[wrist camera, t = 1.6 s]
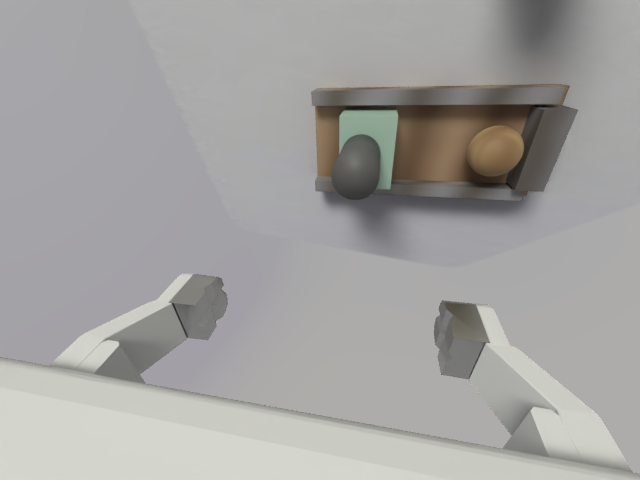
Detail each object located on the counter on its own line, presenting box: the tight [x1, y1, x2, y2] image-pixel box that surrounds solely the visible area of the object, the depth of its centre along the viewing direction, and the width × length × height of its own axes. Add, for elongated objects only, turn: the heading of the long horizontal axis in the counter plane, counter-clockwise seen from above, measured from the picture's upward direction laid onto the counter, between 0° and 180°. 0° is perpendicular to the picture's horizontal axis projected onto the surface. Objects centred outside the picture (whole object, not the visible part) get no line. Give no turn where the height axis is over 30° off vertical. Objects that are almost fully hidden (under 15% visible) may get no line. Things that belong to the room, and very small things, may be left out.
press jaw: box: [331, 109, 398, 200], centre depth 25 cm, size 5×7×10 cm
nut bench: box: [311, 84, 578, 201], centre depth 28 cm, size 22×10×4 cm, turn 92°
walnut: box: [467, 125, 524, 176], centre depth 26 cm, size 4×4×4 cm
